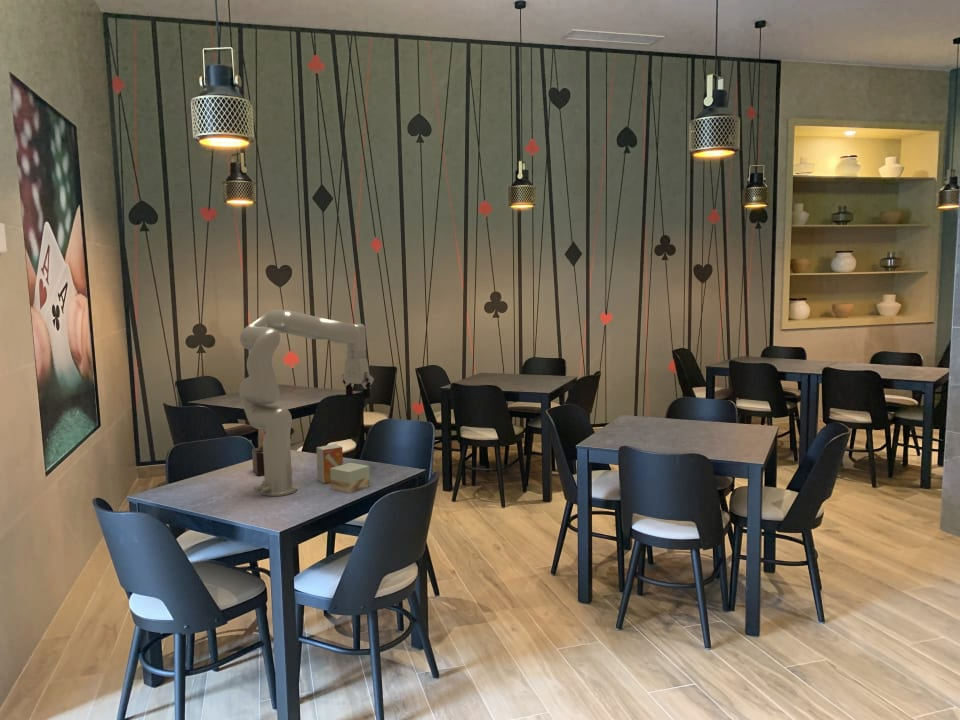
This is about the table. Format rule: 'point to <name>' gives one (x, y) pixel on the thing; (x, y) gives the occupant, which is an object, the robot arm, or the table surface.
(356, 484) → the tower base block
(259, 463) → the manual coffee grinder
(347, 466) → the tower top block
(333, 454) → the small box
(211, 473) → the table surface
